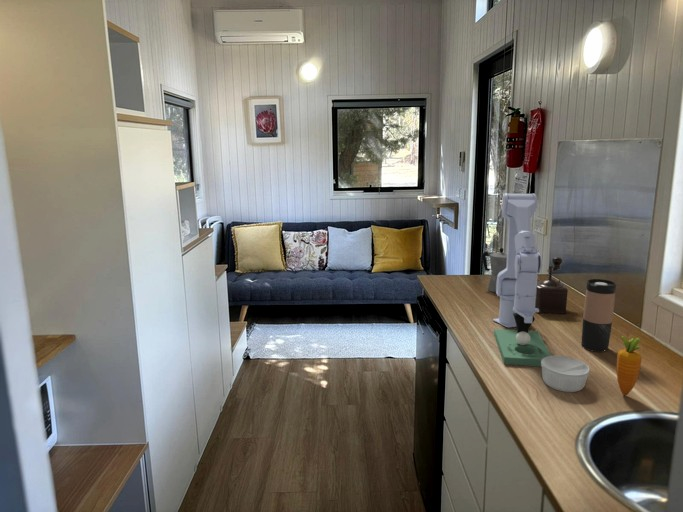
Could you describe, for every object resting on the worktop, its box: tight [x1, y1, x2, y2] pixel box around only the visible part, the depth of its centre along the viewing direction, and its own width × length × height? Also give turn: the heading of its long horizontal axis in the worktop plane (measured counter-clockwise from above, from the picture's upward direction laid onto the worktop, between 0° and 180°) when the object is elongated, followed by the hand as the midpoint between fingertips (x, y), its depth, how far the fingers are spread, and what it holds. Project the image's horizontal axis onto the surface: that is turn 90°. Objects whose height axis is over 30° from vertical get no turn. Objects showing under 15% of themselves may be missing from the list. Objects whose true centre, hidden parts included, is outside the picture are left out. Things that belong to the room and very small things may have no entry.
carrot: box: [616, 335, 642, 396], centre depth 116 cm, size 5×5×15 cm
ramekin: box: [540, 355, 591, 393], centre depth 124 cm, size 11×11×5 cm
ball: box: [516, 331, 530, 345], centre depth 143 cm, size 4×4×4 cm
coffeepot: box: [481, 247, 507, 294], centre depth 204 cm, size 15×9×18 cm, turn 44°
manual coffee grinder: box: [535, 256, 569, 315], centre depth 181 cm, size 16×11×18 cm
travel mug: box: [581, 278, 617, 352], centre depth 144 cm, size 8×8×20 cm
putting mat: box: [493, 328, 553, 367], centre depth 145 cm, size 22×13×2 cm, turn 170°
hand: (521, 338), depth 145 cm, fingers closed, pressing on ball
